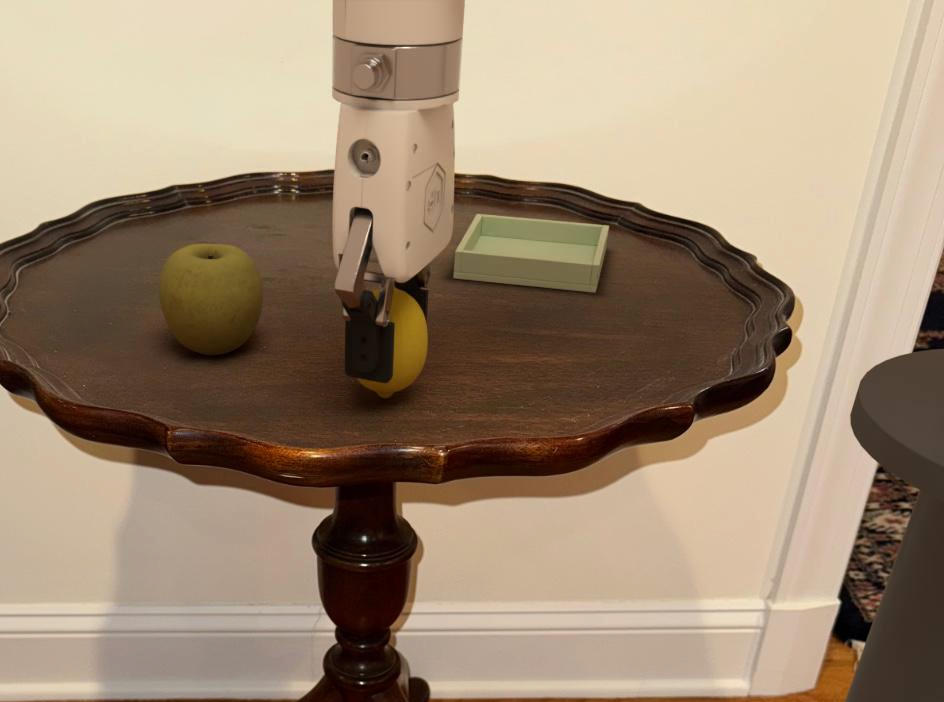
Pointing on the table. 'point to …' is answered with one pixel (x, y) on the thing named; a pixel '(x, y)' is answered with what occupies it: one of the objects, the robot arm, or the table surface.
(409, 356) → the lemon
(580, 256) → the dish
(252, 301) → the apple
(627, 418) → the table surface
